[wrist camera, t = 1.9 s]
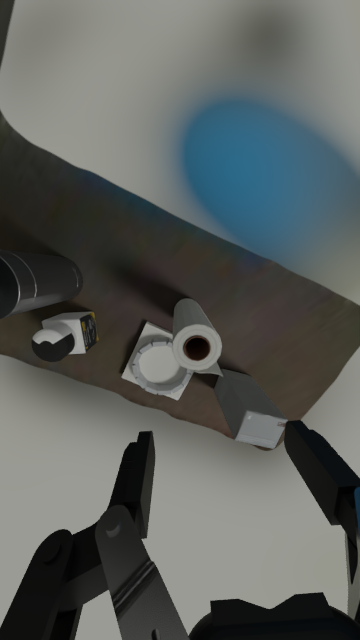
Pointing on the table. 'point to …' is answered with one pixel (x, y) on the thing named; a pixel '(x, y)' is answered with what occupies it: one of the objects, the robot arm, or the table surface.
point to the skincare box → (248, 410)
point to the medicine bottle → (65, 335)
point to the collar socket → (157, 364)
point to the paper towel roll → (195, 339)
